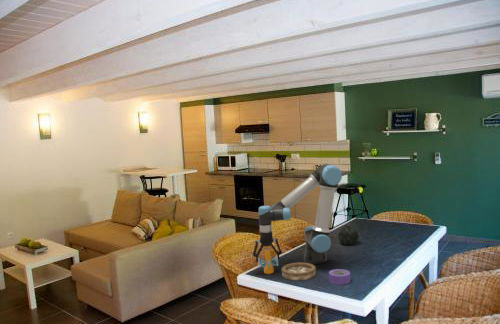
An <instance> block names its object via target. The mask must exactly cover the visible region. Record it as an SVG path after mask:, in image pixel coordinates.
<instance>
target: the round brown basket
mask: <svg viewBox="0 0 500 324" xmlns="http://www.w3.org/2000/svg"><path fill="white" fill-rule="evenodd" d="M316 271H317V267H316V266H315V264H309V263H306V262H290V263H288V264H287V263H286V264H284V265H283V266H282V267H281V276H282V277H283V278H284V279H286V280H289V281H307V280H310V279H312V278H314V277H315V276H316V275H317V274H316Z"/></svg>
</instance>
